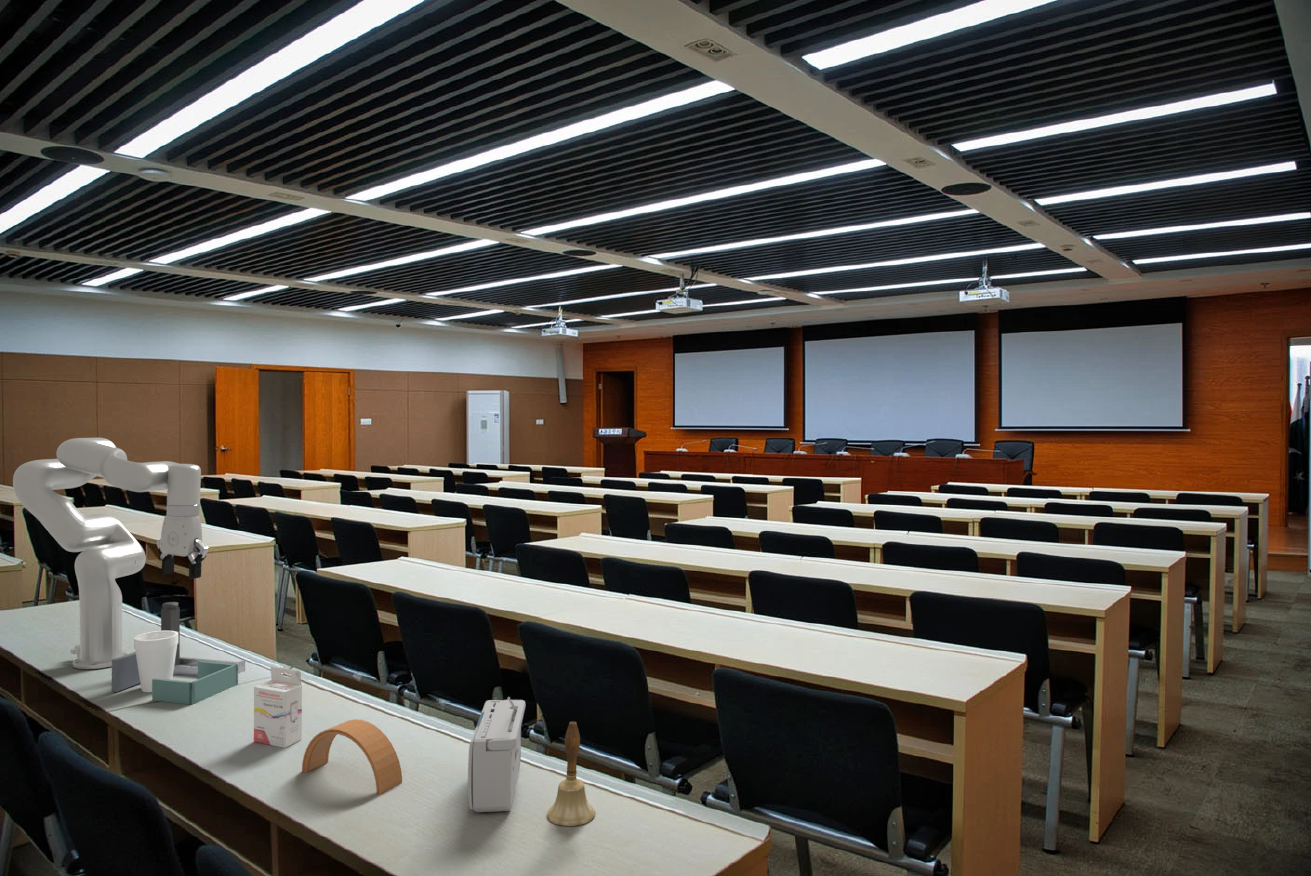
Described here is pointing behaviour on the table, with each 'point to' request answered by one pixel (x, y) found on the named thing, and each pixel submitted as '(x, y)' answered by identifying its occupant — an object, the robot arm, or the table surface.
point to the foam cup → (155, 656)
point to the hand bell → (571, 789)
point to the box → (197, 684)
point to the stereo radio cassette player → (495, 756)
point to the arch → (369, 742)
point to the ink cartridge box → (278, 709)
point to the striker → (127, 665)
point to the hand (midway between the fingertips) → (181, 575)
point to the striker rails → (191, 665)
